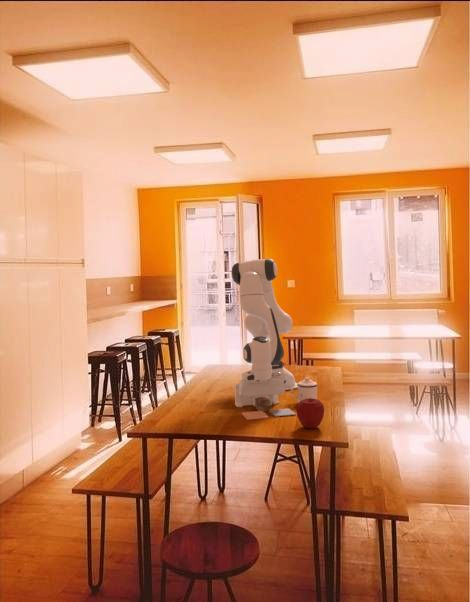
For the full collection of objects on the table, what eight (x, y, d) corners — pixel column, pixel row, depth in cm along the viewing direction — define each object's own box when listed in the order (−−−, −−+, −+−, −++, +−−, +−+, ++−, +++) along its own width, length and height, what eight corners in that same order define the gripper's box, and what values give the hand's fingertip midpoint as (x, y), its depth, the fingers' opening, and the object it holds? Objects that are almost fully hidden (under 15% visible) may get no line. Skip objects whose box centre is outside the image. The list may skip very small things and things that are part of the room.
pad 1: (262, 412, 221) (262, 410, 221) (268, 417, 212) (268, 416, 212) (241, 413, 219) (241, 412, 219) (247, 419, 210) (247, 418, 210)
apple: (299, 422, 205) (298, 393, 204) (326, 424, 202) (325, 394, 201) (294, 431, 195) (293, 400, 194) (322, 432, 192) (322, 402, 191)
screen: (276, 400, 239) (275, 379, 239) (279, 403, 234) (279, 381, 234) (234, 404, 235) (233, 382, 234) (236, 407, 230) (236, 385, 229)
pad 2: (288, 409, 224) (288, 408, 224) (295, 415, 215) (295, 413, 215) (268, 411, 222) (268, 410, 222) (275, 417, 213) (275, 415, 213)
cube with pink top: (266, 407, 229) (266, 396, 228) (269, 410, 224) (269, 398, 224) (255, 408, 228) (255, 397, 227) (258, 411, 223) (258, 399, 222)
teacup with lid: (317, 400, 238) (317, 375, 237) (317, 405, 229) (317, 380, 228) (291, 400, 240) (291, 375, 239) (290, 405, 231) (290, 379, 230)
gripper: (282, 371, 230) (282, 401, 231) (237, 374, 226) (238, 405, 226) (286, 374, 224) (287, 405, 225) (241, 377, 219) (241, 409, 220)
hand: (262, 405), depth 226 cm, fingers closed on cube with pink top, 5 cm apart
